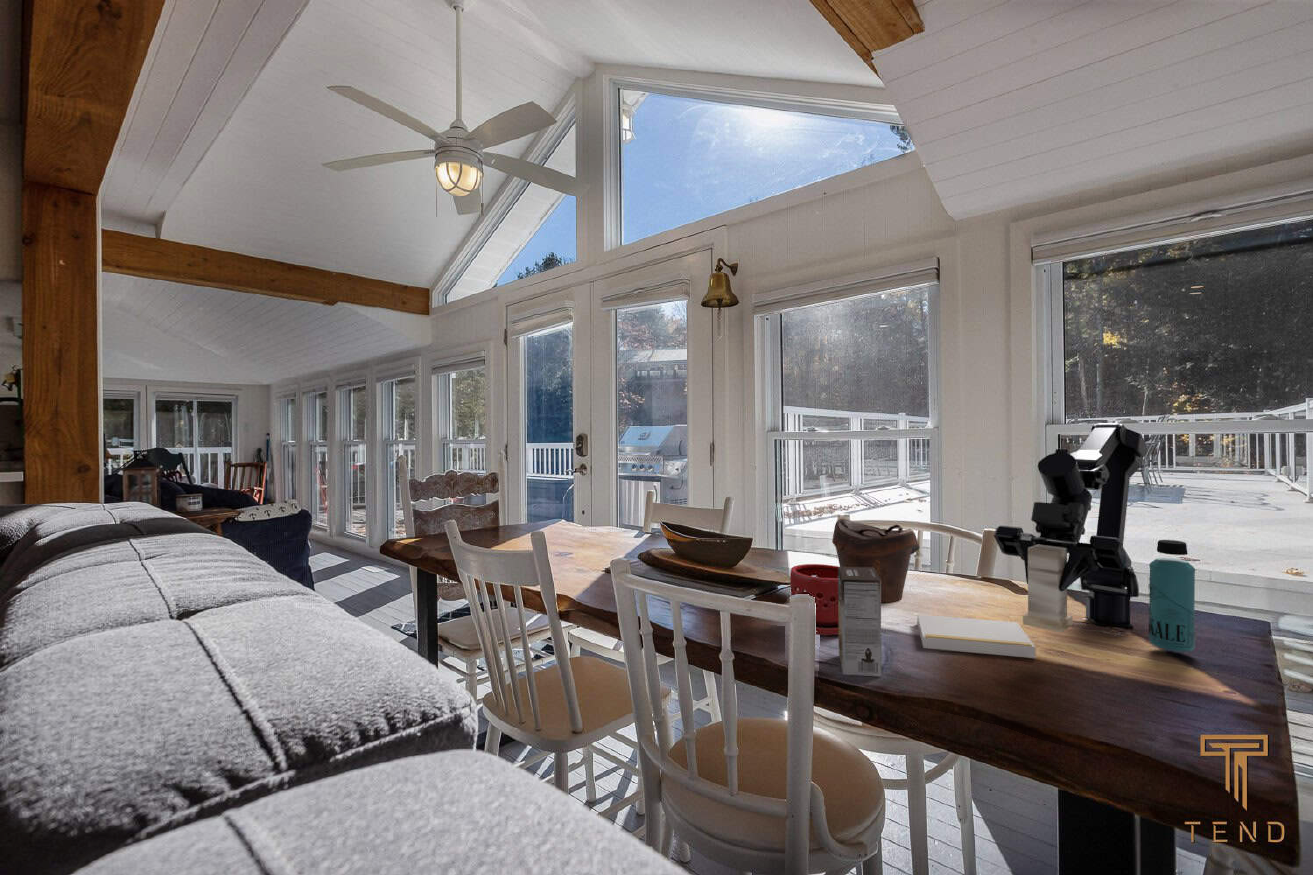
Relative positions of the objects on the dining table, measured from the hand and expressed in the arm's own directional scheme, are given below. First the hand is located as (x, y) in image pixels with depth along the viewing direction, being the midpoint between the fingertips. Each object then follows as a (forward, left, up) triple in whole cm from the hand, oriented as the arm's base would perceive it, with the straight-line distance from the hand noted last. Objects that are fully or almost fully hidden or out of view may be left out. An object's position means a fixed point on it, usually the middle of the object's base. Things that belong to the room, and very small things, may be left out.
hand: (1044, 587), depth 104 cm
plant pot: (+36, -10, -14) cm, 40 cm away
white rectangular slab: (+9, -11, -14) cm, 20 cm away
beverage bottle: (-23, -13, -14) cm, 30 cm away
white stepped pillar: (-1, -1, -7) cm, 7 cm away
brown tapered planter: (+26, -38, -14) cm, 48 cm away
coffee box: (+29, +8, -14) cm, 33 cm away
